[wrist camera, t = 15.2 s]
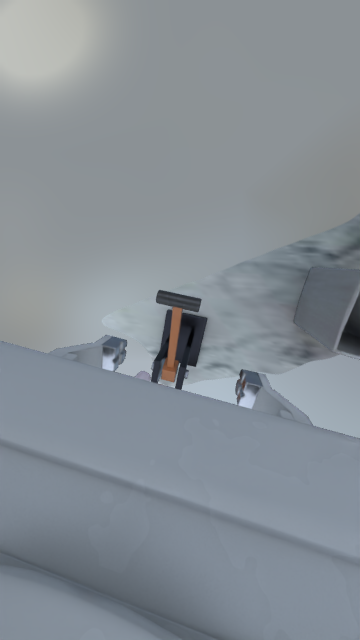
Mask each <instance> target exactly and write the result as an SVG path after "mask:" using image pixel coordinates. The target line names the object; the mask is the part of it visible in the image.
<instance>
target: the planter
mask: <svg viewBox="0 0 360 640" xmlns="http://www.w3.org/2000/svg"><path fill="white" fill-rule="evenodd" d="M294 323H295V324H296V325H298V326H299V327H300V328H302V329H303V330H304V331H306V332H307V333H308V334H310V335H311V336H312V337H314V338H315V339H316V340H318V341H319V342H320V343H322V344H323V345H324V346H326V347H327V348H328V349H330V350H331V351H332V352H335V353H338V354H341V355H345V356H348V357H351V358H355V359H359V360H360V270H355V269H336V268H317V267H312V268H311V269H310V271H309V274H308V277H307V279H306V282H305V285H304V288H303V291H302V294H301V297H300V300H299V303H298V307H297V310H296V314H295V319H294Z"/></svg>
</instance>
